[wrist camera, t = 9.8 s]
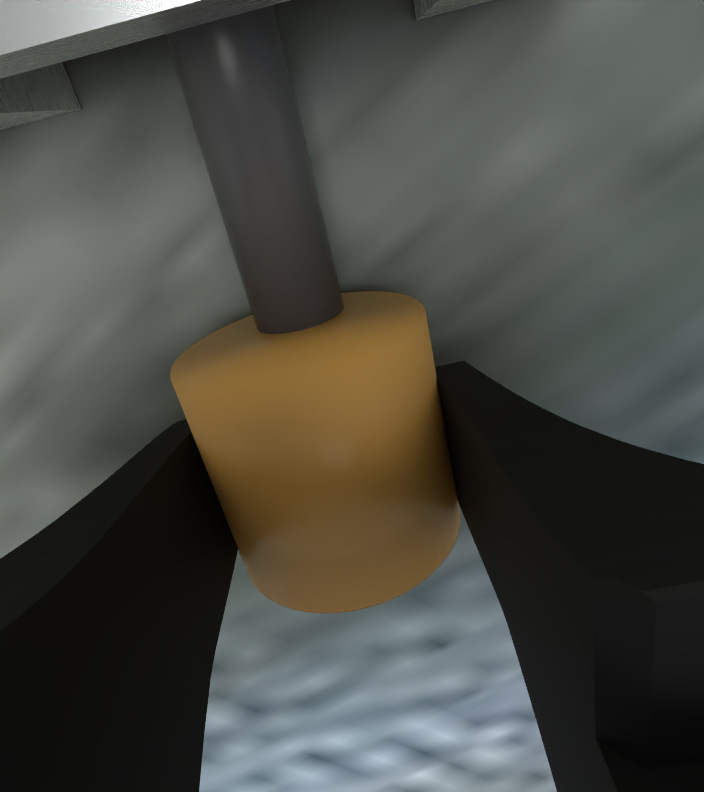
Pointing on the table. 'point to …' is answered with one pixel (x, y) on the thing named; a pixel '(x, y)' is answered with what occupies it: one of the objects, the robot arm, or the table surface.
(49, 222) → the table surface
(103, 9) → the housing
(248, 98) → the plug
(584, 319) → the table surface
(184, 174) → the table surface
